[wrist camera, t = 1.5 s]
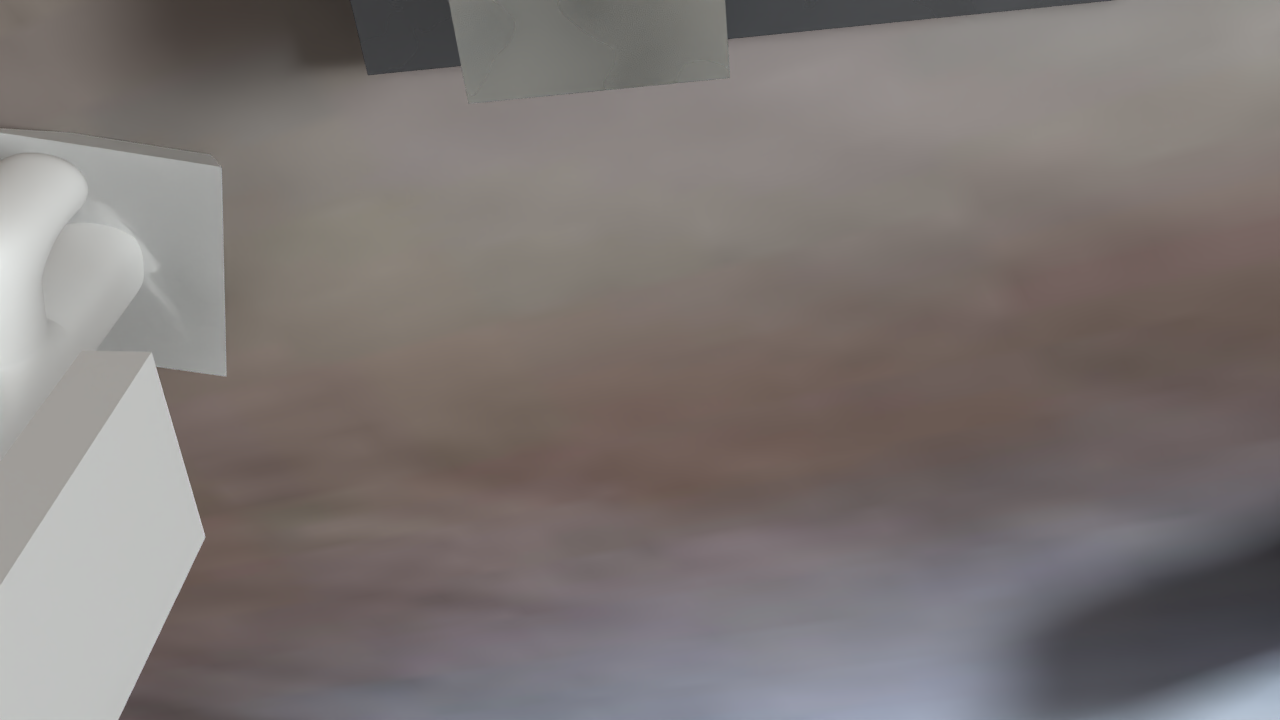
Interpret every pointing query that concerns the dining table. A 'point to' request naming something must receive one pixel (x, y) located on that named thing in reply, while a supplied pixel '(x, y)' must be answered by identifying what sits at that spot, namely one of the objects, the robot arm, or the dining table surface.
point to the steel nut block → (586, 45)
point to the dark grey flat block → (755, 5)
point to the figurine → (104, 261)
